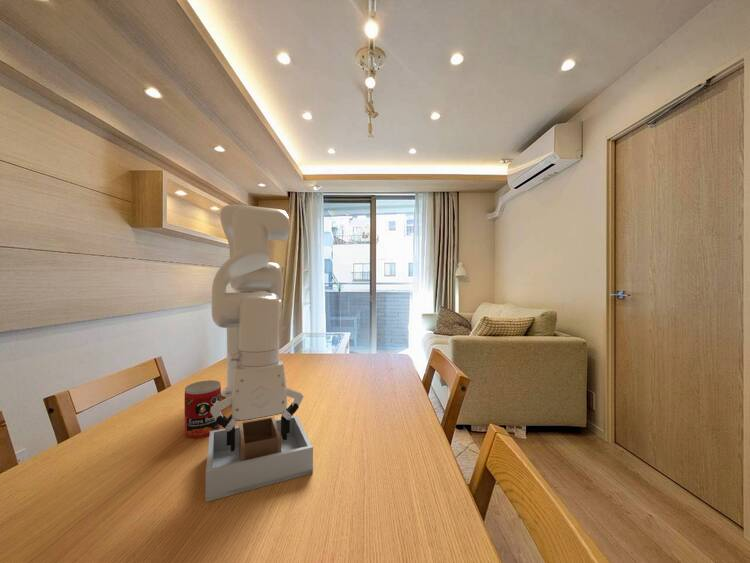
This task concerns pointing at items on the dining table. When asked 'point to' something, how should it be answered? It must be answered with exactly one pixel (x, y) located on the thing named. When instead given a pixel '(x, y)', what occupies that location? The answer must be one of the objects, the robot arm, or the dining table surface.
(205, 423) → the canned food
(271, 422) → the small crate
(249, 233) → the robot arm
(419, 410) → the dining table surface
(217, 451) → the large crate
